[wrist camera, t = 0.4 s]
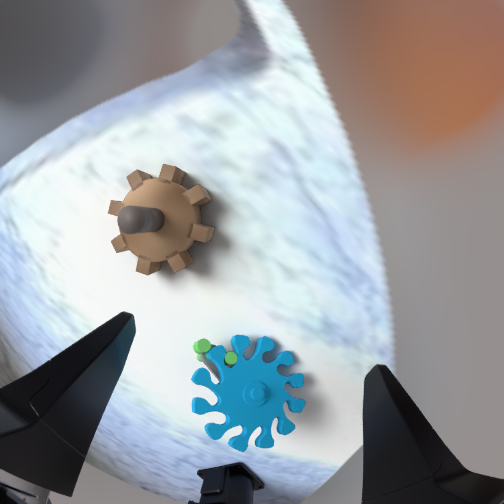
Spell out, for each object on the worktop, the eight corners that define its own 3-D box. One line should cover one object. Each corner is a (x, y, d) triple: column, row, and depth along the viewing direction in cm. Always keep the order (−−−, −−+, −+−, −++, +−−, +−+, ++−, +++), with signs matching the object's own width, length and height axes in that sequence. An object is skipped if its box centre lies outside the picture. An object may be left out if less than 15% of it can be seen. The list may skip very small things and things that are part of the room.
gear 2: (328, 391, 21) (256, 476, 15) (291, 393, 26) (227, 460, 20) (251, 298, 22) (155, 375, 16) (225, 316, 27) (147, 376, 21)
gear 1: (233, 240, 22) (220, 247, 16) (149, 287, 23) (113, 308, 16) (185, 151, 21) (157, 127, 15) (108, 203, 22) (64, 199, 16)
